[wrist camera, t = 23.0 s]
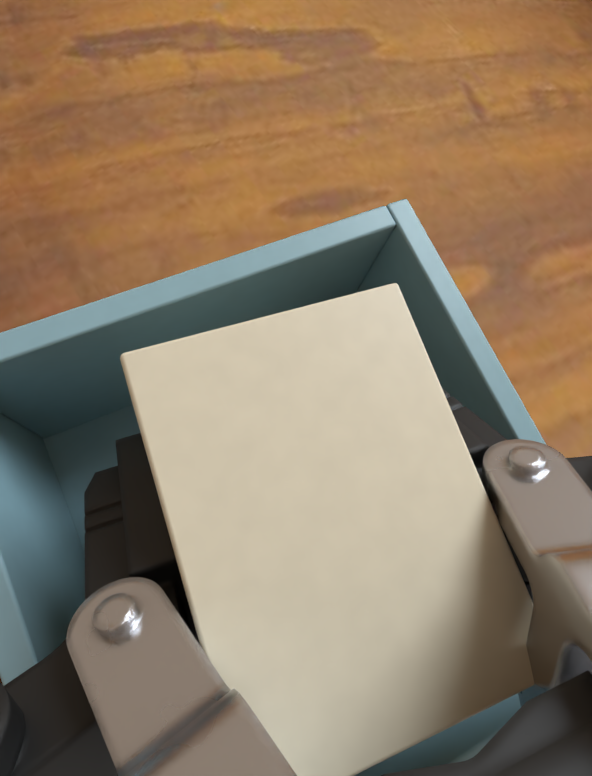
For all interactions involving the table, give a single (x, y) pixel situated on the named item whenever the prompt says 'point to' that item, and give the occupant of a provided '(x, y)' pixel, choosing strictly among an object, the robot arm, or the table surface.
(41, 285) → the table surface
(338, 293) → the open box
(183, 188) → the table surface
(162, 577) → the robot arm
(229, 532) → the box
